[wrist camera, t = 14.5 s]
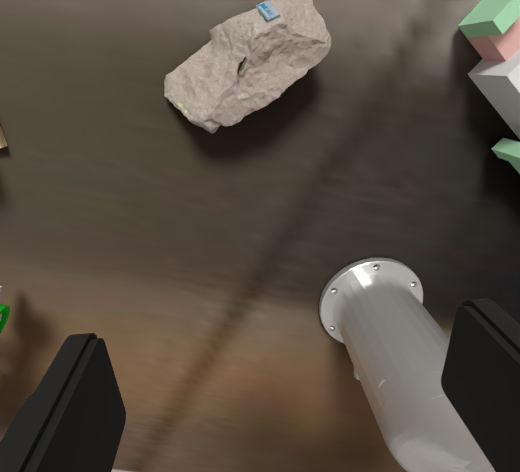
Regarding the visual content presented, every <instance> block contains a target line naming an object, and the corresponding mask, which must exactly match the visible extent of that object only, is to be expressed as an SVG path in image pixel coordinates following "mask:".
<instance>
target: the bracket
mask: <svg viewBox="0 0 520 472" xmlns="http://www.w3.org/2000/svg"><path fill="white" fill-rule="evenodd" d="M1 289H2V286H0V293H1ZM9 312H10V307H9V306H6V305H3V304H0V333H1V331H2V330H3V328H4V326H5V324H6V321H7V319H8V316H9Z"/></svg>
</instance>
